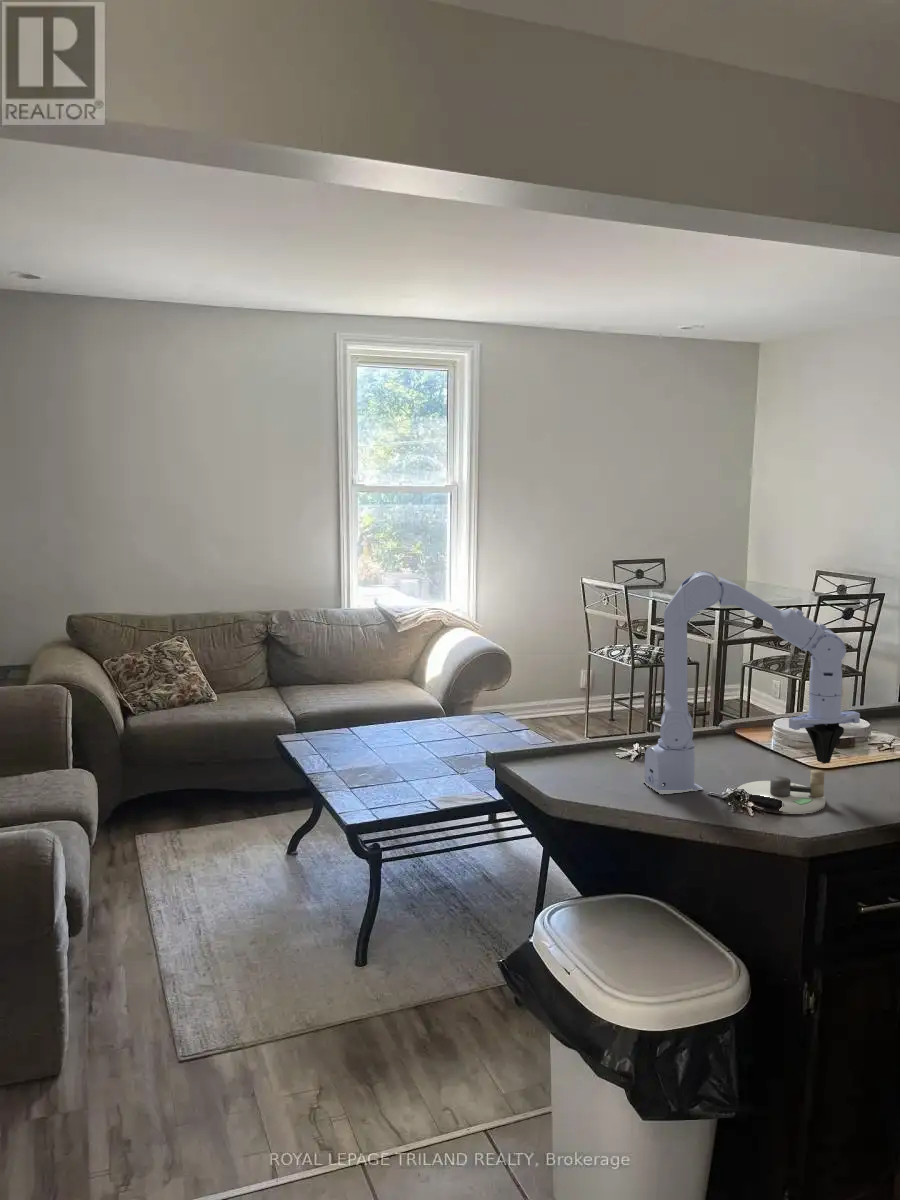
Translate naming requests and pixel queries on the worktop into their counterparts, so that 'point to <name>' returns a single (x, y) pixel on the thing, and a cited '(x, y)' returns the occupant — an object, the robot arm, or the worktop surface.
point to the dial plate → (790, 803)
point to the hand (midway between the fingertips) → (823, 761)
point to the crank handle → (783, 788)
